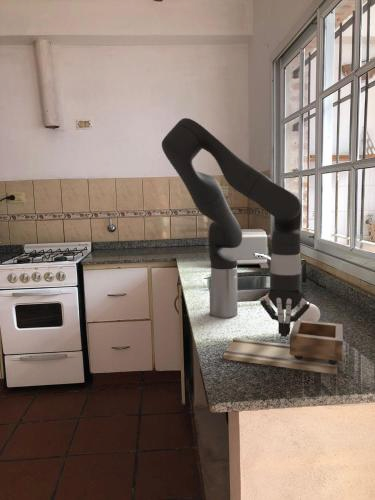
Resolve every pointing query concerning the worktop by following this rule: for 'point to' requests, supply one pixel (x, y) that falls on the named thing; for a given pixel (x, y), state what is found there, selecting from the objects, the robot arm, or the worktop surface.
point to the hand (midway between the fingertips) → (284, 335)
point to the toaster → (251, 248)
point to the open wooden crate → (317, 340)
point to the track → (275, 356)
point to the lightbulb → (311, 314)
